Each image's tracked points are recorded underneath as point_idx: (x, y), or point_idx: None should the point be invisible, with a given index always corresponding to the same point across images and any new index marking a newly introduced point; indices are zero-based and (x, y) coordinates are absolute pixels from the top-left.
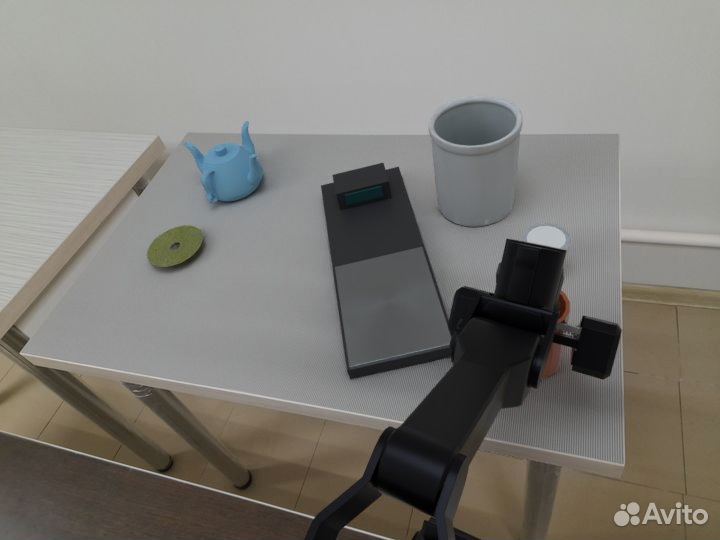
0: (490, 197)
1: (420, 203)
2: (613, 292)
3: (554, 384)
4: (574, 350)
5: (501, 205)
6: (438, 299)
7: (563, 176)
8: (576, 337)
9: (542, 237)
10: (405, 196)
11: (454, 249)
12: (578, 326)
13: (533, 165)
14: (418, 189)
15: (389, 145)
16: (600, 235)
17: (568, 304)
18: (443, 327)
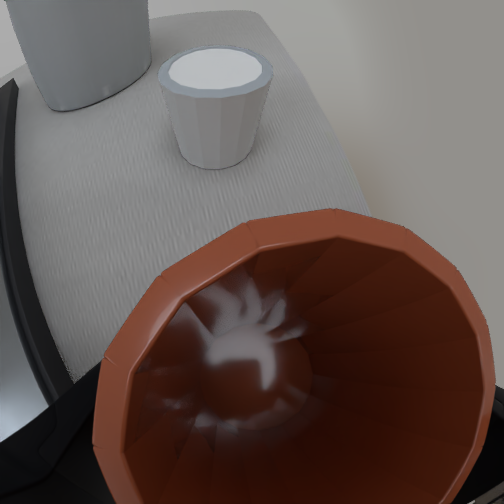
0: (100, 43)
1: (28, 106)
2: (349, 167)
3: None
4: (470, 501)
5: (125, 57)
6: (5, 294)
7: (214, 31)
8: (486, 464)
9: (206, 66)
10: (5, 105)
11: (55, 152)
12: (500, 423)
13: (175, 28)
14: (31, 92)
15: (21, 68)
16: (288, 81)
17: (488, 345)
18: (26, 380)
